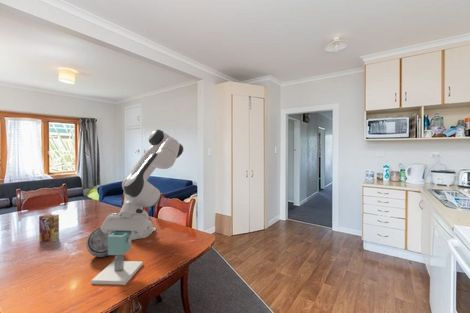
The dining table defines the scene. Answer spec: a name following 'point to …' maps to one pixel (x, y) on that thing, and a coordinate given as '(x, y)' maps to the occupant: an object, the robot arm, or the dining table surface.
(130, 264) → the board
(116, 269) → the grey rectangular block
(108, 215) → the robot arm
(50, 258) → the dining table surface
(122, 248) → the teal square hollow box
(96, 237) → the decorative orb
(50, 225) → the candy box
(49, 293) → the dining table surface
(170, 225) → the dining table surface
